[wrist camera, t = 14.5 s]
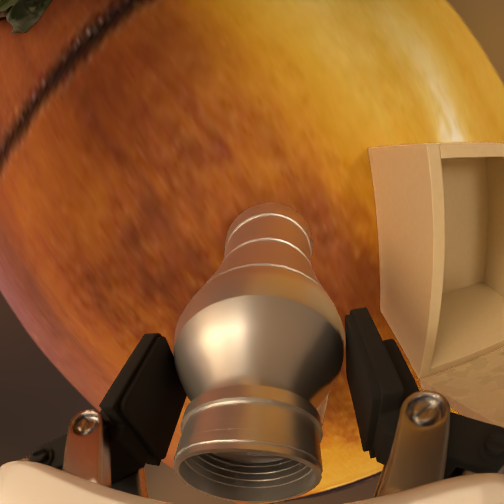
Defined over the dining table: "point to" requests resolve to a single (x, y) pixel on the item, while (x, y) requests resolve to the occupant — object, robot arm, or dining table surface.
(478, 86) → the dining table surface
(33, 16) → the rose bouquet
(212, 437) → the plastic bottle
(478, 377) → the bin lid
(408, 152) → the bin
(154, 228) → the dining table surface
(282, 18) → the dining table surface
